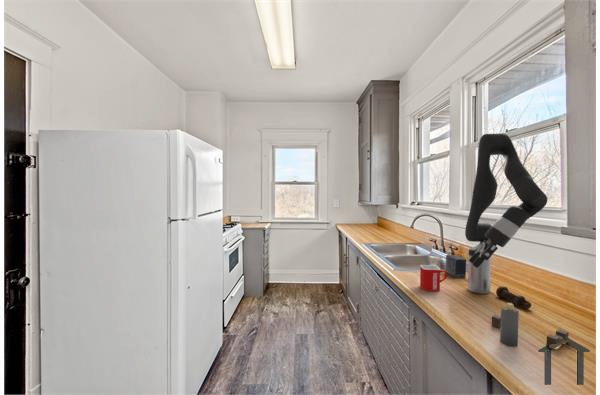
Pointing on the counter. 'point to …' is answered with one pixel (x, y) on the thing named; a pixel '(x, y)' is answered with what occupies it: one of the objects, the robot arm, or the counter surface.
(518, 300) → the dark brown lumpy bar
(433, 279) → the mug
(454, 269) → the small box
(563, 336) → the notched blocks
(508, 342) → the grey cylindrical bottle
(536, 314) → the counter surface
